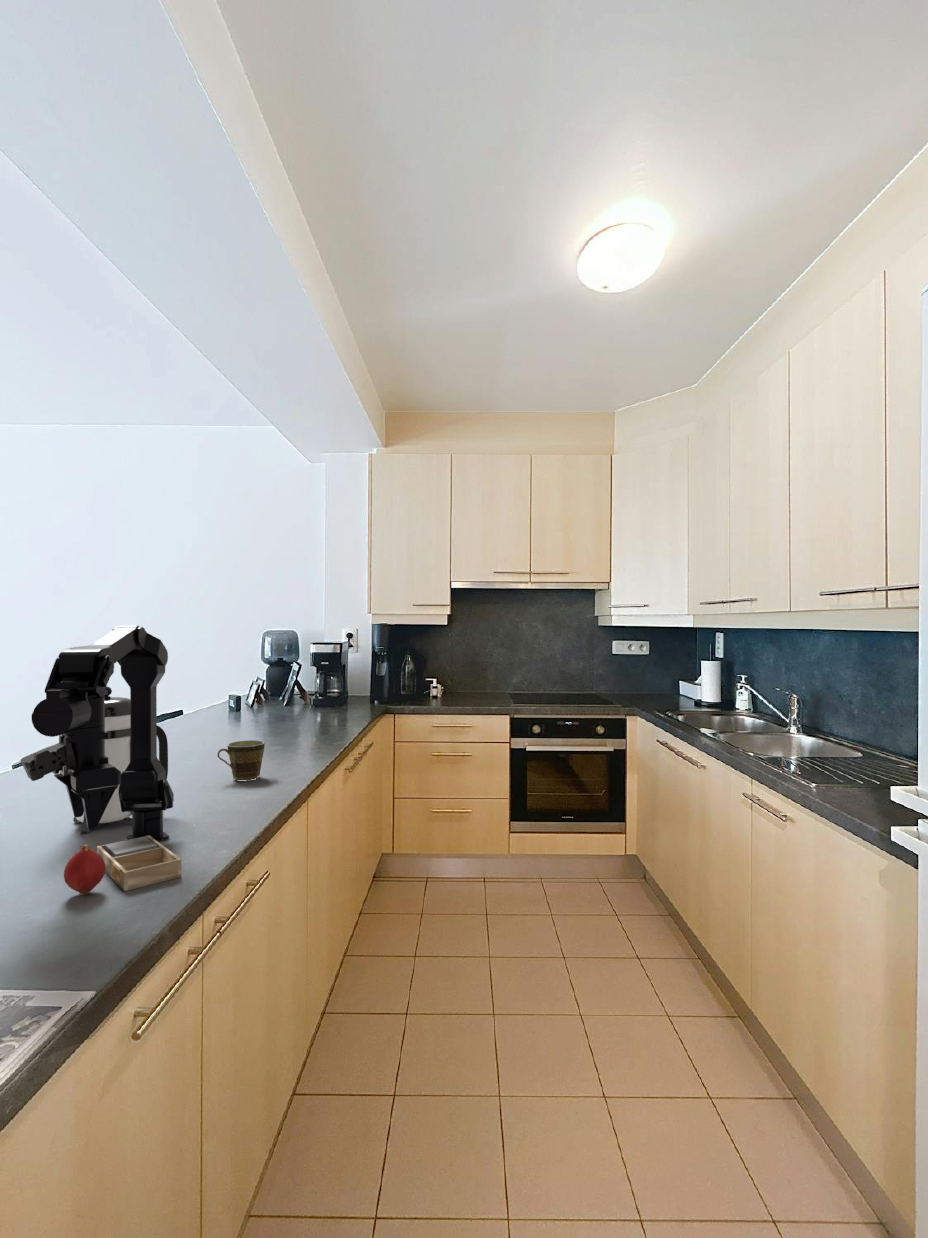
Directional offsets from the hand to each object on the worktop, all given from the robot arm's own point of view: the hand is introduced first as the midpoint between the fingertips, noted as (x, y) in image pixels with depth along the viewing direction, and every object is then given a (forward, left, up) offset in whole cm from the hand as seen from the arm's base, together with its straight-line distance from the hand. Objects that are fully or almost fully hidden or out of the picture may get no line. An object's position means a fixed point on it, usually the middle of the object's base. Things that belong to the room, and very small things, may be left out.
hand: (85, 823), depth 106 cm
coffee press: (-40, +14, -12) cm, 44 cm away
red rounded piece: (0, 0, -12) cm, 12 cm away
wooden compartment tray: (-6, +9, -11) cm, 16 cm away
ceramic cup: (-58, +51, -12) cm, 78 cm away
